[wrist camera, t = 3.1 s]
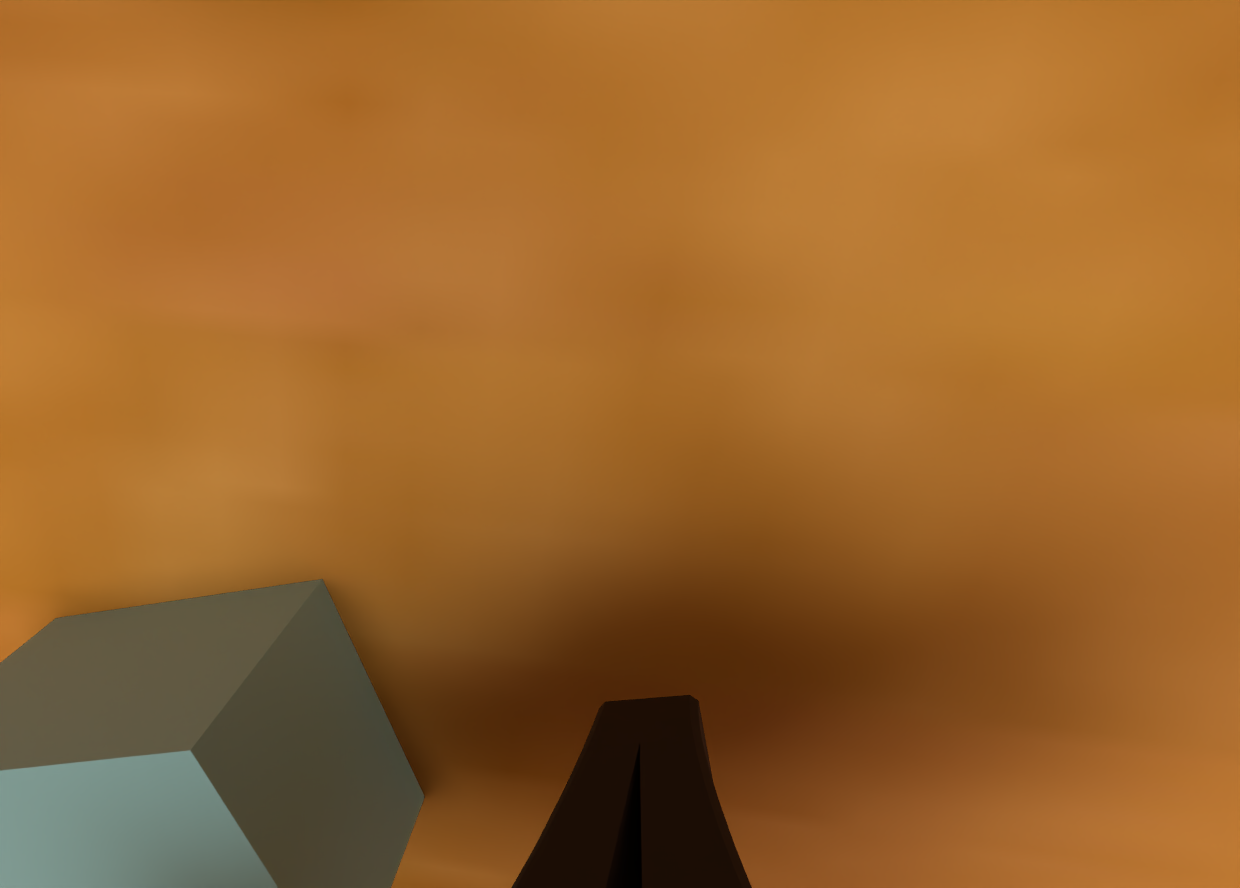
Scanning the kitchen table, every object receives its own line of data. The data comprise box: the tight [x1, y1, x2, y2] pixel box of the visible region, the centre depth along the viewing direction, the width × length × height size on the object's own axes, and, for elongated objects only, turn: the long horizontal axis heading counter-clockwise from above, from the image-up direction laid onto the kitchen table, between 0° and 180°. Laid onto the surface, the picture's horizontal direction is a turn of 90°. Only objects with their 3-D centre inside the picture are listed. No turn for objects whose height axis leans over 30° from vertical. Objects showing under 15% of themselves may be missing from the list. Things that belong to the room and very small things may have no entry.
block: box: [0, 579, 425, 888], centre depth 11 cm, size 5×5×4 cm
